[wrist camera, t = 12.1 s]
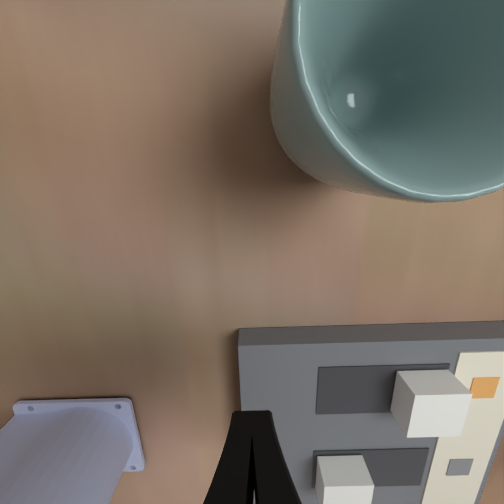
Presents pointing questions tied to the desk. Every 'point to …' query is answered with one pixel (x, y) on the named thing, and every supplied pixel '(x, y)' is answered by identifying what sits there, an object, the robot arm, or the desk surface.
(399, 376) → the switch tab
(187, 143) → the desk surface
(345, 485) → the switch tab
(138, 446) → the robot arm
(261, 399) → the switch board
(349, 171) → the cup
